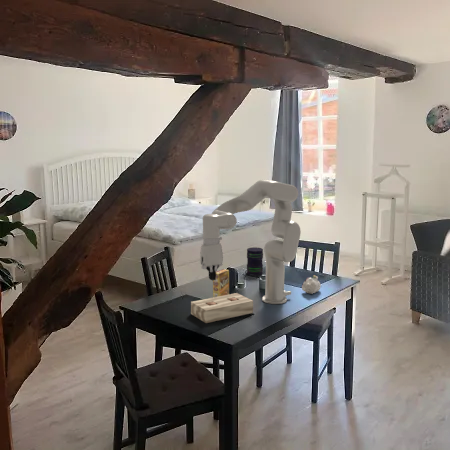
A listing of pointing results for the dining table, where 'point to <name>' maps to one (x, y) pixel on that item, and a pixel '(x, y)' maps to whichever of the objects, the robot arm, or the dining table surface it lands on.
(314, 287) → the cream lumpy bulb
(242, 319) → the dining table surface
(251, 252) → the storage jar
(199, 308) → the birch block
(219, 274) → the candy box
